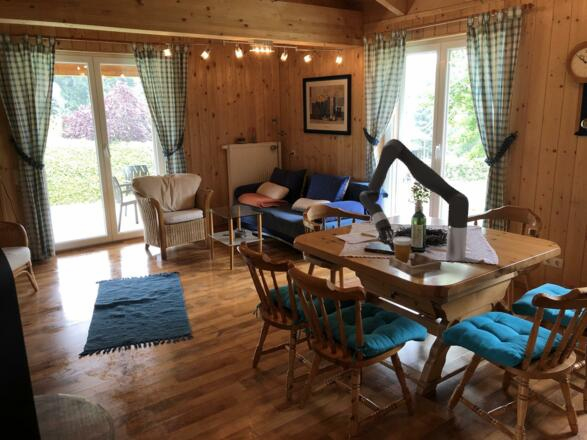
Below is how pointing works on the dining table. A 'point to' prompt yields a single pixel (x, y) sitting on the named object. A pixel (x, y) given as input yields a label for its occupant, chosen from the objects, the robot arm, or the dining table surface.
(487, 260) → the dining table surface
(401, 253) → the amber cup
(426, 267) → the walnut bay
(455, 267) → the dining table surface
